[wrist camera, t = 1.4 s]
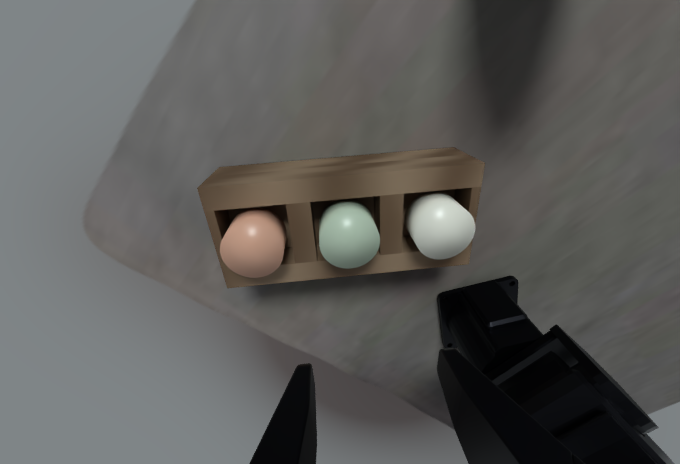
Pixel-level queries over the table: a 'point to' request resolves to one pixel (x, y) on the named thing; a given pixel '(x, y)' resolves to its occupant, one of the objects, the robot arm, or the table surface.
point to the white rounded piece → (439, 225)
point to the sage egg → (348, 234)
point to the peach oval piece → (254, 243)
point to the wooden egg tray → (333, 185)
